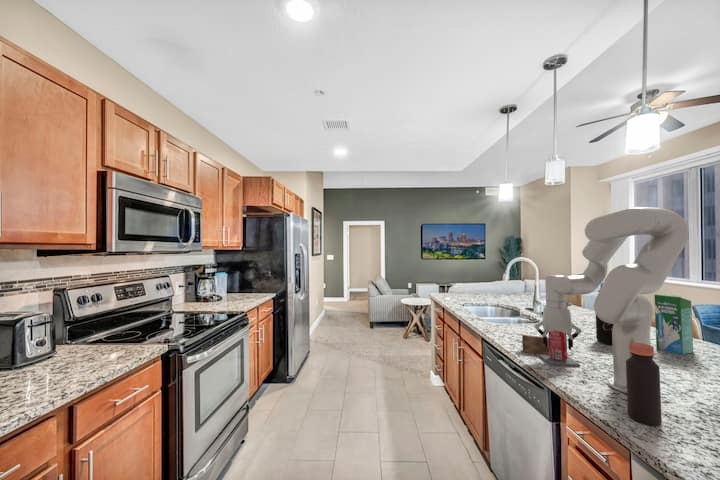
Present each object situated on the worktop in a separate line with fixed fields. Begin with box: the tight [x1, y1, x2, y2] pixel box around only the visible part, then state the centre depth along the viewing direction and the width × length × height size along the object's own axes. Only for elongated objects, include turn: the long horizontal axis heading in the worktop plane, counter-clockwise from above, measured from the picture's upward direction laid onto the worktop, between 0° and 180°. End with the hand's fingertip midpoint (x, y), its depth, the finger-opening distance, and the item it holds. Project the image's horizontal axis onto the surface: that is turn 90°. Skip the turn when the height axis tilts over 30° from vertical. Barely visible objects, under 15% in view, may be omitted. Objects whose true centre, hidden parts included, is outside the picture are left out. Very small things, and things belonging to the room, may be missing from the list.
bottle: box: [626, 343, 663, 427], centre depth 85 cm, size 7×7×20 cm
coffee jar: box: [595, 314, 614, 347], centre depth 152 cm, size 11×11×18 cm
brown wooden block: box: [521, 334, 549, 355], centre depth 139 cm, size 14×5×7 cm, turn 61°
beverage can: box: [548, 331, 568, 361], centre depth 128 cm, size 6×6×12 cm
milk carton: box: [653, 294, 694, 355], centre depth 140 cm, size 9×9×25 cm
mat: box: [537, 354, 581, 368], centre depth 128 cm, size 11×11×1 cm
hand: (557, 347), depth 128 cm, fingers open, 7 cm apart
